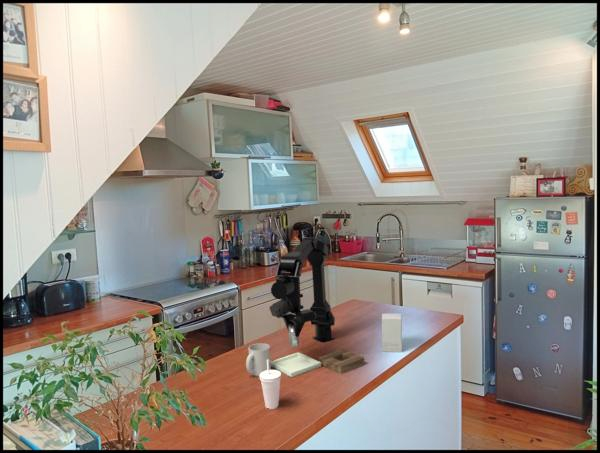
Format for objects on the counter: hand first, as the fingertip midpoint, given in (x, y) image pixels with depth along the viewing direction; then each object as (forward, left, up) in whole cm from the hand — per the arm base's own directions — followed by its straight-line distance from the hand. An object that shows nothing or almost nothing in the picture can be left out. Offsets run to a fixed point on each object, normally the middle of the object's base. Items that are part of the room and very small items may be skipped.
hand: (293, 335), depth 160 cm
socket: (+10, +13, -11) cm, 20 cm away
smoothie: (+18, -22, -11) cm, 31 cm away
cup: (-4, -13, -11) cm, 18 cm away
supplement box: (+12, +37, -11) cm, 40 cm away
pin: (0, 0, -3) cm, 3 cm away
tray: (0, 0, -11) cm, 11 cm away
